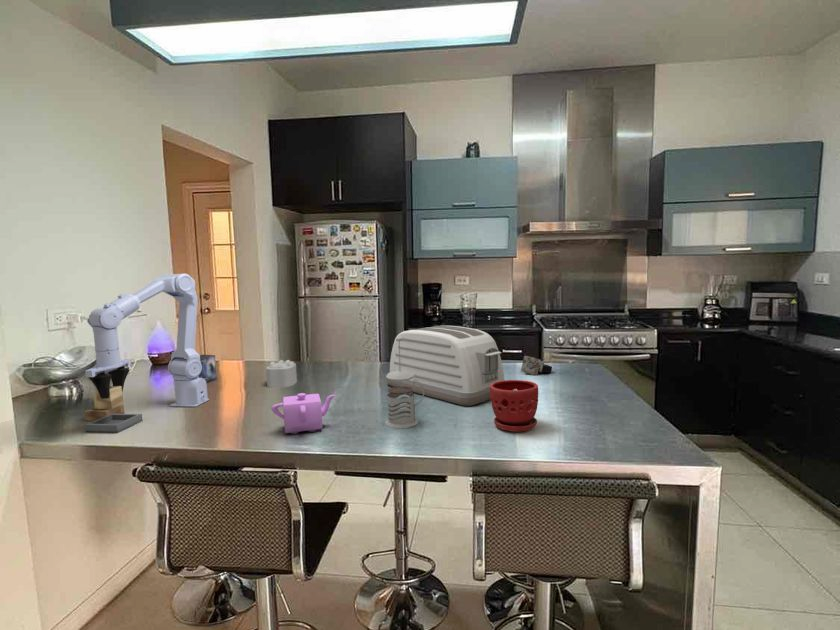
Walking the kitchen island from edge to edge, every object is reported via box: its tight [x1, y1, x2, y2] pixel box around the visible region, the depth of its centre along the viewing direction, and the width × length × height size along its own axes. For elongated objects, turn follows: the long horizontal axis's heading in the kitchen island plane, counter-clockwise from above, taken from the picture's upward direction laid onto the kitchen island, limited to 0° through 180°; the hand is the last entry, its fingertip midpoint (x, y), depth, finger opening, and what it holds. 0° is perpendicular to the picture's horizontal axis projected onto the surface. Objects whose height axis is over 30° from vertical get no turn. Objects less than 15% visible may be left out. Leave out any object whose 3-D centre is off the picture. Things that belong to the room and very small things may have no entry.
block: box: [94, 385, 124, 409], centre depth 136 cm, size 4×4×6 cm
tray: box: [84, 413, 144, 434], centre depth 137 cm, size 10×10×2 cm
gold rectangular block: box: [93, 395, 107, 410], centre depth 146 cm, size 3×3×7 cm
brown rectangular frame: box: [84, 403, 125, 422], centre depth 146 cm, size 7×7×3 cm
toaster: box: [386, 325, 506, 407], centre depth 166 cm, size 23×45×22 cm, turn 43°
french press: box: [384, 336, 425, 429], centre depth 133 cm, size 10×12×25 cm
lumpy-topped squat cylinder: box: [265, 359, 298, 388], centre depth 183 cm, size 10×13×9 cm
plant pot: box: [490, 379, 539, 433], centre depth 128 cm, size 13×13×12 cm
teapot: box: [270, 392, 337, 435], centre depth 130 cm, size 18×14×10 cm
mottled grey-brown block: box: [520, 355, 553, 376], centre depth 190 cm, size 7×11×10 cm
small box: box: [199, 354, 218, 384], centre depth 187 cm, size 11×6×10 cm, turn 168°
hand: (111, 395), depth 136 cm, fingers closed on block, 4 cm apart
